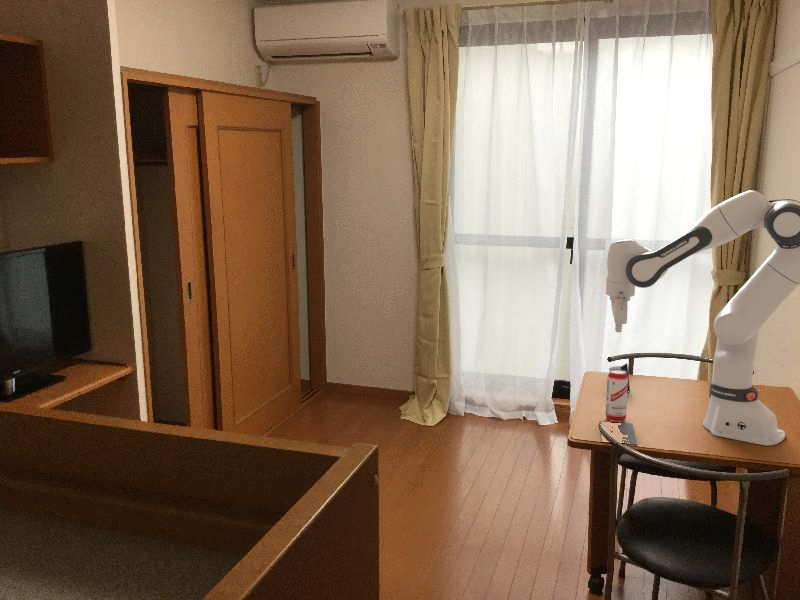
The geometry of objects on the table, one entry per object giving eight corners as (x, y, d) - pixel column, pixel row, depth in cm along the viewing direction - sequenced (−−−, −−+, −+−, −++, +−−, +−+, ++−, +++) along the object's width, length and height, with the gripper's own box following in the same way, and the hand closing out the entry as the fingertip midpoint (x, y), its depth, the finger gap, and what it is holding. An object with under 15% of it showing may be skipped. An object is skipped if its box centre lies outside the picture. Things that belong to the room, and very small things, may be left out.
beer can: (603, 415, 225) (605, 368, 222) (622, 415, 224) (625, 368, 221) (608, 422, 219) (610, 374, 215) (628, 422, 218) (630, 374, 215)
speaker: (635, 391, 247) (633, 363, 246) (624, 395, 244) (622, 367, 243) (618, 388, 253) (617, 360, 252) (607, 391, 251) (605, 363, 249)
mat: (599, 421, 219) (599, 420, 219) (632, 424, 217) (632, 423, 217) (601, 442, 203) (601, 441, 203) (637, 445, 201) (637, 444, 201)
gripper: (633, 295, 211) (630, 339, 213) (628, 284, 230) (626, 324, 233) (611, 295, 212) (609, 338, 215) (608, 284, 232) (607, 324, 234)
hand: (618, 331), depth 224 cm, fingers closed
